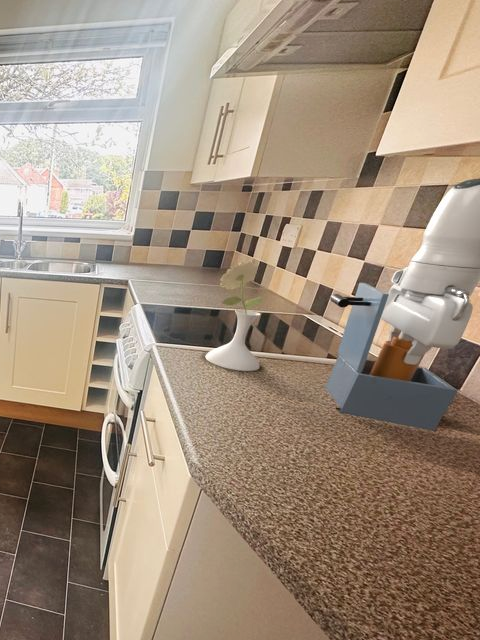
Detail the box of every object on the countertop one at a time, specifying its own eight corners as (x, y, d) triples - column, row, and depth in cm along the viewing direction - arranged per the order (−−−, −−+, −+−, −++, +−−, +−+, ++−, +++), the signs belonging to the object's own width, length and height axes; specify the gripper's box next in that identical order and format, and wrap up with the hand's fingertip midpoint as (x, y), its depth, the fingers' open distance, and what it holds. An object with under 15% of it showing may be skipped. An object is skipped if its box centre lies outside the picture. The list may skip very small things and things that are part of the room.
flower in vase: (247, 362, 105) (282, 260, 94) (265, 380, 95) (306, 267, 84) (191, 356, 107) (219, 256, 97) (202, 372, 97) (235, 262, 87)
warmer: (403, 407, 84) (425, 367, 80) (432, 434, 75) (458, 390, 71) (321, 393, 89) (338, 354, 86) (338, 416, 80) (358, 374, 76)
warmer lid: (364, 282, 80) (329, 281, 82) (389, 293, 70) (348, 292, 72) (342, 353, 85) (309, 350, 87) (362, 372, 76) (324, 368, 78)
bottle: (386, 405, 83) (432, 318, 75) (398, 418, 78) (448, 325, 71) (351, 399, 85) (392, 313, 77) (360, 411, 80) (405, 320, 73)
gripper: (501, 295, 62) (452, 380, 67) (433, 274, 78) (398, 344, 84) (445, 289, 64) (402, 372, 70) (390, 271, 81) (359, 339, 87)
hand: (400, 356), depth 77 cm, fingers closed on bottle, 5 cm apart
